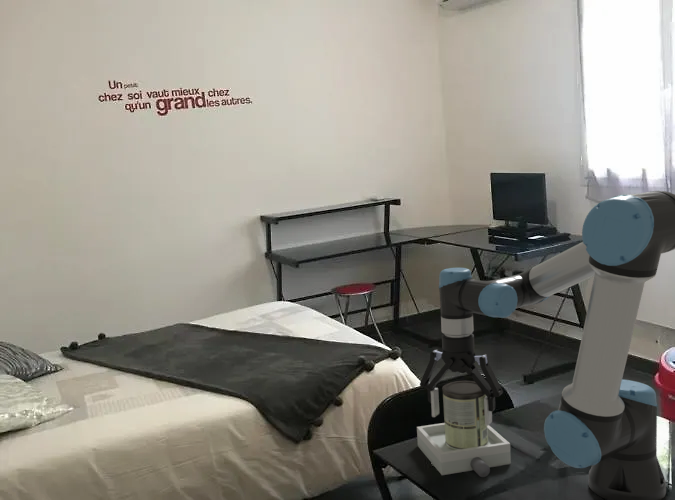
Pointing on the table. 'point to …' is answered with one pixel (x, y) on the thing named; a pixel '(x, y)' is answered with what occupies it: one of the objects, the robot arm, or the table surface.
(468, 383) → the coffee can
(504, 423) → the table surface
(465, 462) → the white square tray
